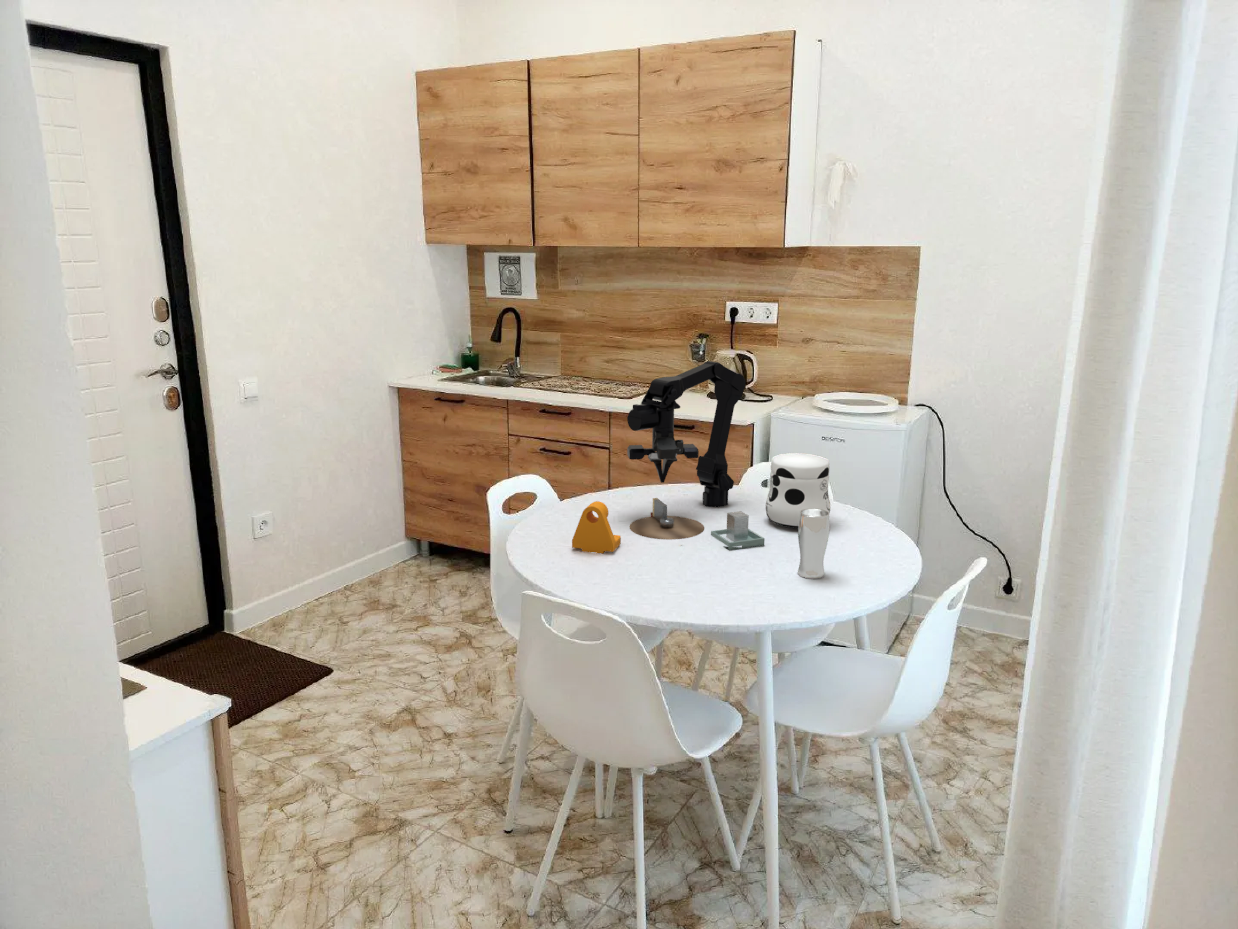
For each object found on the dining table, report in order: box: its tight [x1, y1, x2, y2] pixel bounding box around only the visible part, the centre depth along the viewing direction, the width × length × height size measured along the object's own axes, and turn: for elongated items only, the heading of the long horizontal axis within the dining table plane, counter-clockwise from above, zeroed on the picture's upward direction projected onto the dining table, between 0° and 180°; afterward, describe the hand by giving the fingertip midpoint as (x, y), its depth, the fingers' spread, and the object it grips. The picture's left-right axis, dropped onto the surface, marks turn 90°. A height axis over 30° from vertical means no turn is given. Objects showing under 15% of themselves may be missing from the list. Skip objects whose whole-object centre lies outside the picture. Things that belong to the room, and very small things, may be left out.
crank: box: [652, 497, 674, 527], centre depth 234 cm, size 11×4×5 cm, turn 19°
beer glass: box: [797, 508, 830, 580], centre depth 200 cm, size 7×7×15 cm
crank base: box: [629, 511, 705, 541], centre depth 232 cm, size 20×20×2 cm
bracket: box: [571, 500, 622, 554], centre depth 217 cm, size 11×7×12 cm, turn 73°
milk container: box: [765, 452, 831, 529], centre depth 236 cm, size 17×17×18 cm
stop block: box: [725, 510, 749, 542], centre depth 222 cm, size 4×4×7 cm
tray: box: [710, 528, 766, 552], centre depth 223 cm, size 10×10×2 cm
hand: (662, 482), depth 237 cm, fingers closed
